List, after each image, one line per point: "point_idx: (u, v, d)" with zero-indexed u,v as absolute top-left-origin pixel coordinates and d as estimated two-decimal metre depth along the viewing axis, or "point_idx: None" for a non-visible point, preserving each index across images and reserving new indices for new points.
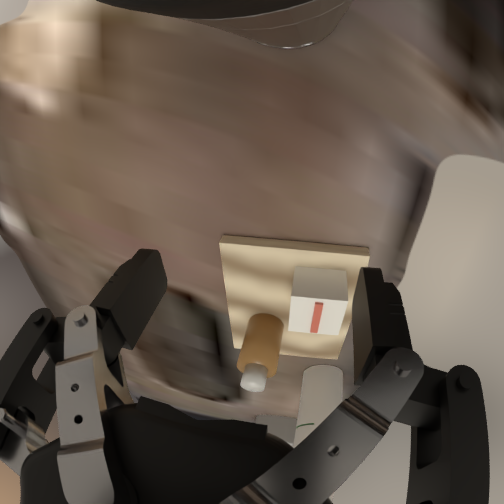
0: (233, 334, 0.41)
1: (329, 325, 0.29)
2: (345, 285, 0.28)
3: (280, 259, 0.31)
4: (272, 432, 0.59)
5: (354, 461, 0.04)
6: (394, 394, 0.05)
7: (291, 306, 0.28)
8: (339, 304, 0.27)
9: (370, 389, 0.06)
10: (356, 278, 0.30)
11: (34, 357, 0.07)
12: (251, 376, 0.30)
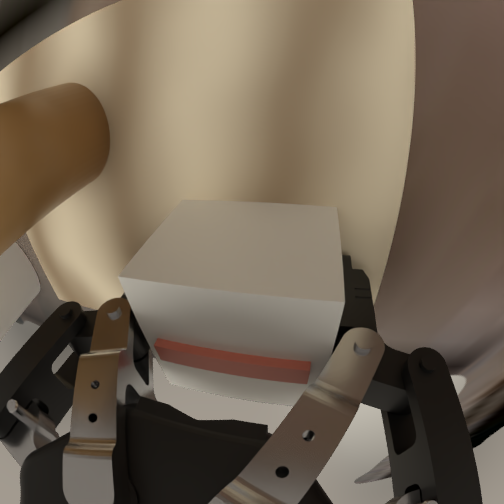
0: (16, 62, 0.07)
1: (200, 376, 0.09)
2: None
3: (363, 164, 0.08)
4: None
5: (331, 442, 0.04)
6: (359, 373, 0.06)
7: (276, 300, 0.06)
8: None
9: (327, 365, 0.06)
10: None
11: (56, 352, 0.07)
12: None
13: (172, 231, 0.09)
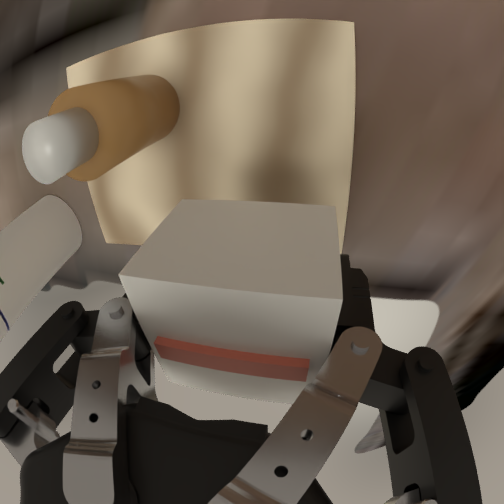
0: (100, 55, 0.14)
1: (200, 374, 0.09)
2: None
3: (329, 124, 0.15)
4: None
5: (330, 441, 0.04)
6: (356, 372, 0.06)
7: (275, 298, 0.06)
8: None
9: (324, 364, 0.06)
10: None
11: (58, 352, 0.07)
12: (69, 138, 0.09)
13: (172, 230, 0.09)
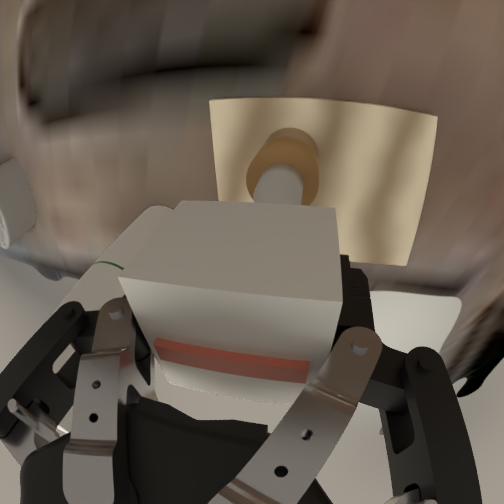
0: (250, 100, 0.22)
1: (199, 376, 0.09)
2: None
3: (413, 183, 0.23)
4: (8, 198, 0.30)
5: (330, 441, 0.04)
6: (357, 372, 0.06)
7: (274, 300, 0.06)
8: None
9: (324, 364, 0.06)
10: (380, 257, 0.28)
11: (58, 352, 0.07)
12: (302, 192, 0.16)
13: (171, 231, 0.09)
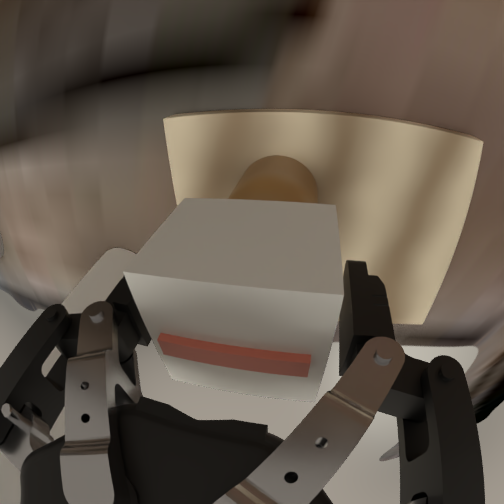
0: (218, 116, 0.15)
1: (202, 371, 0.09)
2: None
3: (444, 230, 0.16)
4: None
5: (343, 451, 0.04)
6: (377, 383, 0.06)
7: (277, 293, 0.06)
8: (301, 392, 0.09)
9: (349, 376, 0.06)
10: (393, 316, 0.21)
11: (45, 354, 0.07)
12: None
13: (175, 228, 0.09)
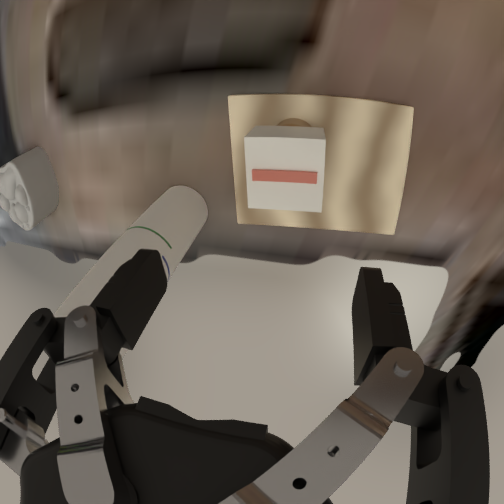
0: (261, 96, 0.27)
1: (267, 193, 0.21)
2: None
3: (395, 162, 0.28)
4: (34, 181, 0.35)
5: (354, 461, 0.04)
6: (394, 394, 0.05)
7: (303, 140, 0.18)
8: (314, 202, 0.21)
9: (370, 389, 0.06)
10: (371, 226, 0.33)
11: (34, 357, 0.07)
12: None
13: (258, 130, 0.21)
